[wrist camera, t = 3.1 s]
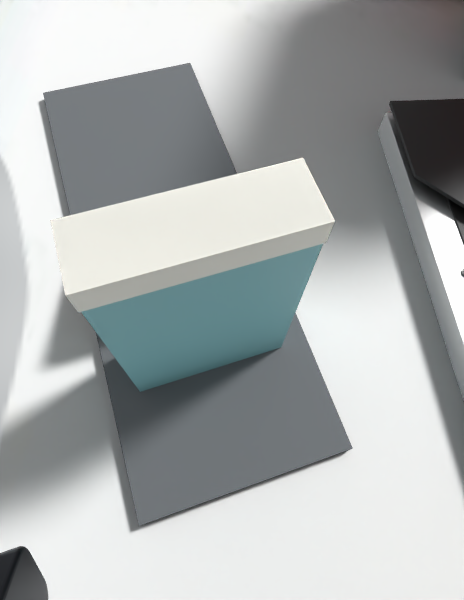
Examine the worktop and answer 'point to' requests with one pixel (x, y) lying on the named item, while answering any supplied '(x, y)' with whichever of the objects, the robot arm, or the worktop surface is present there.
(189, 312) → the card deck
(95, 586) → the worktop surface
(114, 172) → the mat
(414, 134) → the picture frame
